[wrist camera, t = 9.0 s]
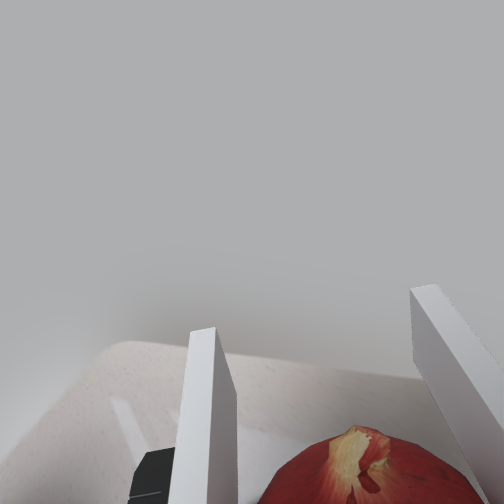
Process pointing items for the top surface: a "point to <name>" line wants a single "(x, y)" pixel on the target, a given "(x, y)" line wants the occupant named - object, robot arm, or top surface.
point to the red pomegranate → (368, 474)
